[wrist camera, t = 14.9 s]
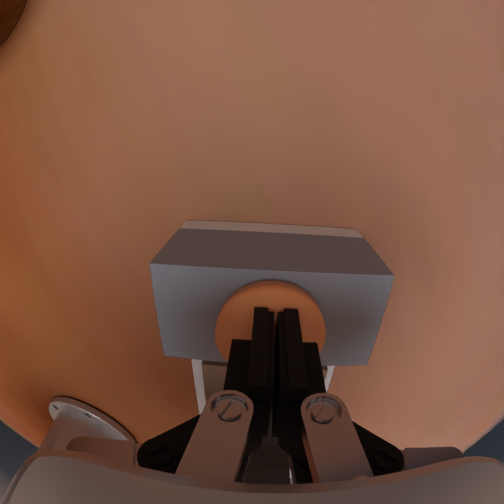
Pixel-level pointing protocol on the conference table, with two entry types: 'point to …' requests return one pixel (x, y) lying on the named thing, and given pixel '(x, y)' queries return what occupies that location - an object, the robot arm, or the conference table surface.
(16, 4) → the disposable coffee cup
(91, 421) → the robot arm
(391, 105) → the conference table surface
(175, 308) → the rail track
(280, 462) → the carriage
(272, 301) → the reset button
